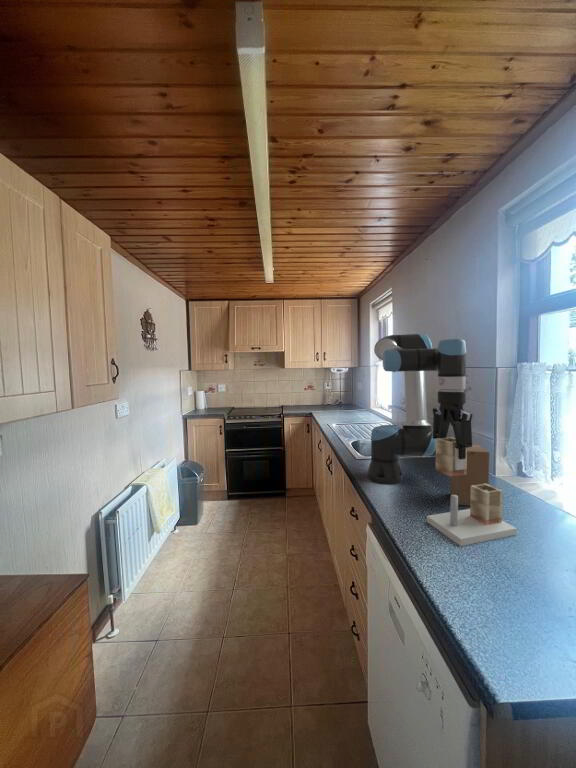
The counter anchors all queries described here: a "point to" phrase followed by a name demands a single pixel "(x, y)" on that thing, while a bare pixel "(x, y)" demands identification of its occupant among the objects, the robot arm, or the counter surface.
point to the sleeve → (448, 457)
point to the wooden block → (471, 474)
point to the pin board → (468, 526)
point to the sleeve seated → (486, 504)
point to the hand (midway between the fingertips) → (450, 465)
